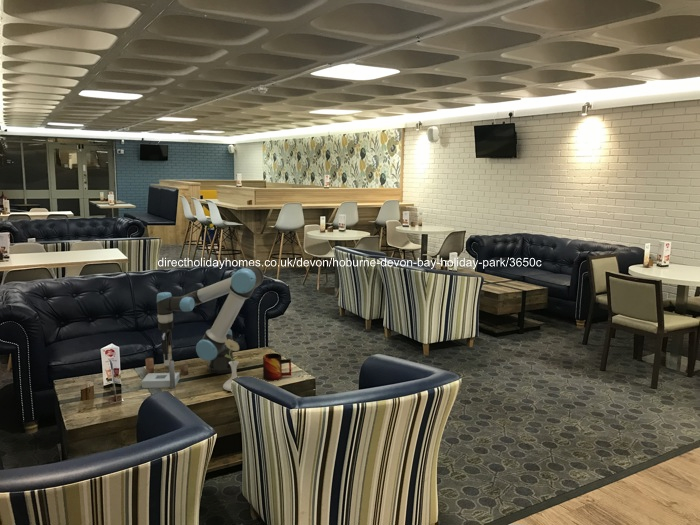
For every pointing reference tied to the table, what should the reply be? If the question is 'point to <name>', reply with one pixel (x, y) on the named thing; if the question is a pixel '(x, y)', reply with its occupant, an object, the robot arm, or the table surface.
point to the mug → (274, 367)
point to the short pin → (184, 370)
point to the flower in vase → (231, 363)
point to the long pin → (170, 359)
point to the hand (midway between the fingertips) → (168, 363)
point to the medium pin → (149, 365)
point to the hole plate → (162, 379)
